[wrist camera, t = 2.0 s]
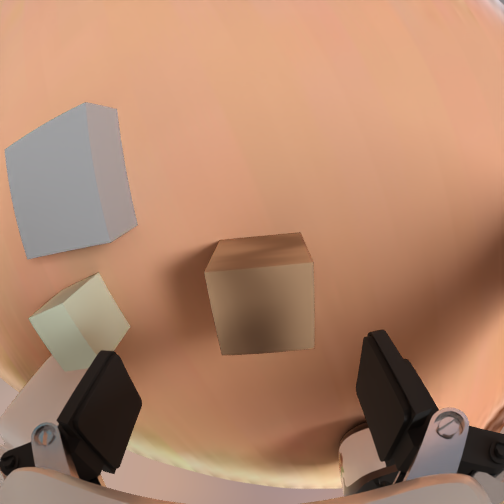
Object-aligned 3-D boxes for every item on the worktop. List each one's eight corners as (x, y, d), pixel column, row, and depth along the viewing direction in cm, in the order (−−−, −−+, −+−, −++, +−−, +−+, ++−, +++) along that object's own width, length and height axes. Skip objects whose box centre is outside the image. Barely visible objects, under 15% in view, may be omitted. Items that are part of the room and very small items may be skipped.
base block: (119, 109, 15) (85, 102, 11) (139, 223, 18) (110, 242, 14) (39, 146, 16) (4, 149, 12) (58, 241, 18) (27, 259, 14)
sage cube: (99, 272, 19) (62, 303, 14) (130, 326, 20) (104, 365, 15) (62, 289, 20) (28, 318, 15) (91, 337, 21) (64, 371, 16)
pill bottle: (102, 365, 22) (32, 487, 8) (113, 411, 25) (67, 513, 11) (43, 339, 22) (-34, 432, 8) (59, 387, 25) (5, 473, 10)
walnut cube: (299, 232, 17) (313, 262, 12) (303, 302, 19) (314, 348, 14) (220, 239, 17) (203, 272, 13) (231, 308, 19) (222, 355, 14)
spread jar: (347, 415, 23) (368, 514, 12) (438, 395, 22) (476, 472, 11) (328, 464, 27) (337, 537, 16) (404, 448, 26) (424, 512, 16)
